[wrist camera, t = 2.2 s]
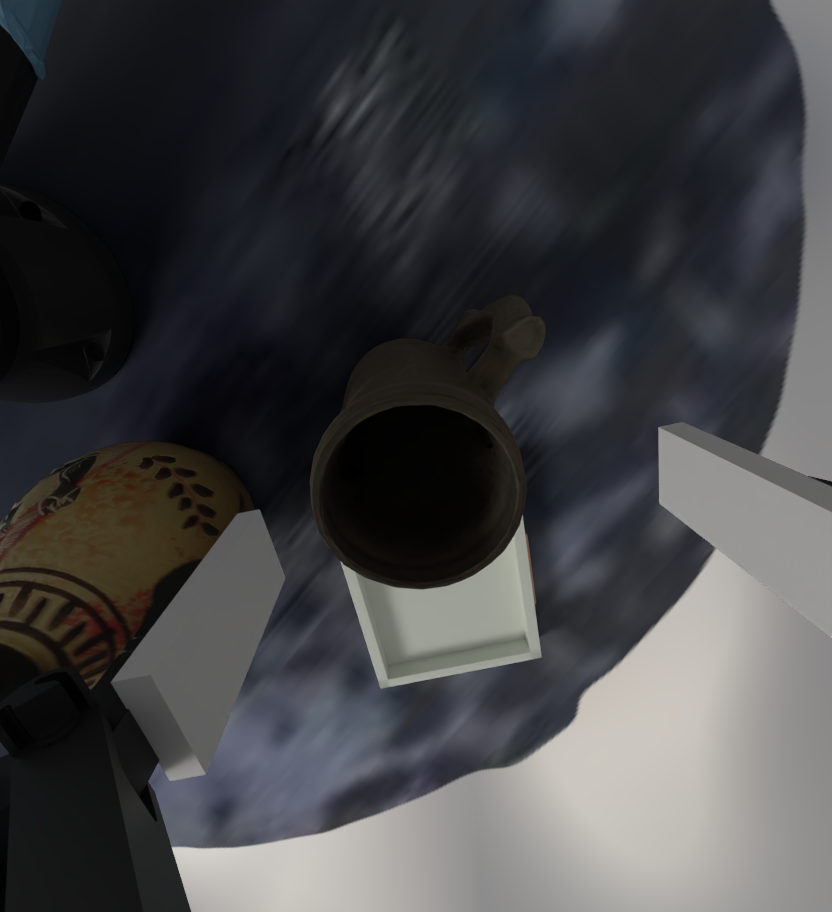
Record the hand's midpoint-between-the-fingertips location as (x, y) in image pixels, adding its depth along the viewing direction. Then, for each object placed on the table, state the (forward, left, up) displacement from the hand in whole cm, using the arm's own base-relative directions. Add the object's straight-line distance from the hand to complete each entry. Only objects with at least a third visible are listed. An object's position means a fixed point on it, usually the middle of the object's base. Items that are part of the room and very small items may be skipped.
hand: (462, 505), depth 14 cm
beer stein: (0, 0, -24) cm, 24 cm away
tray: (-2, -20, -24) cm, 31 cm away
